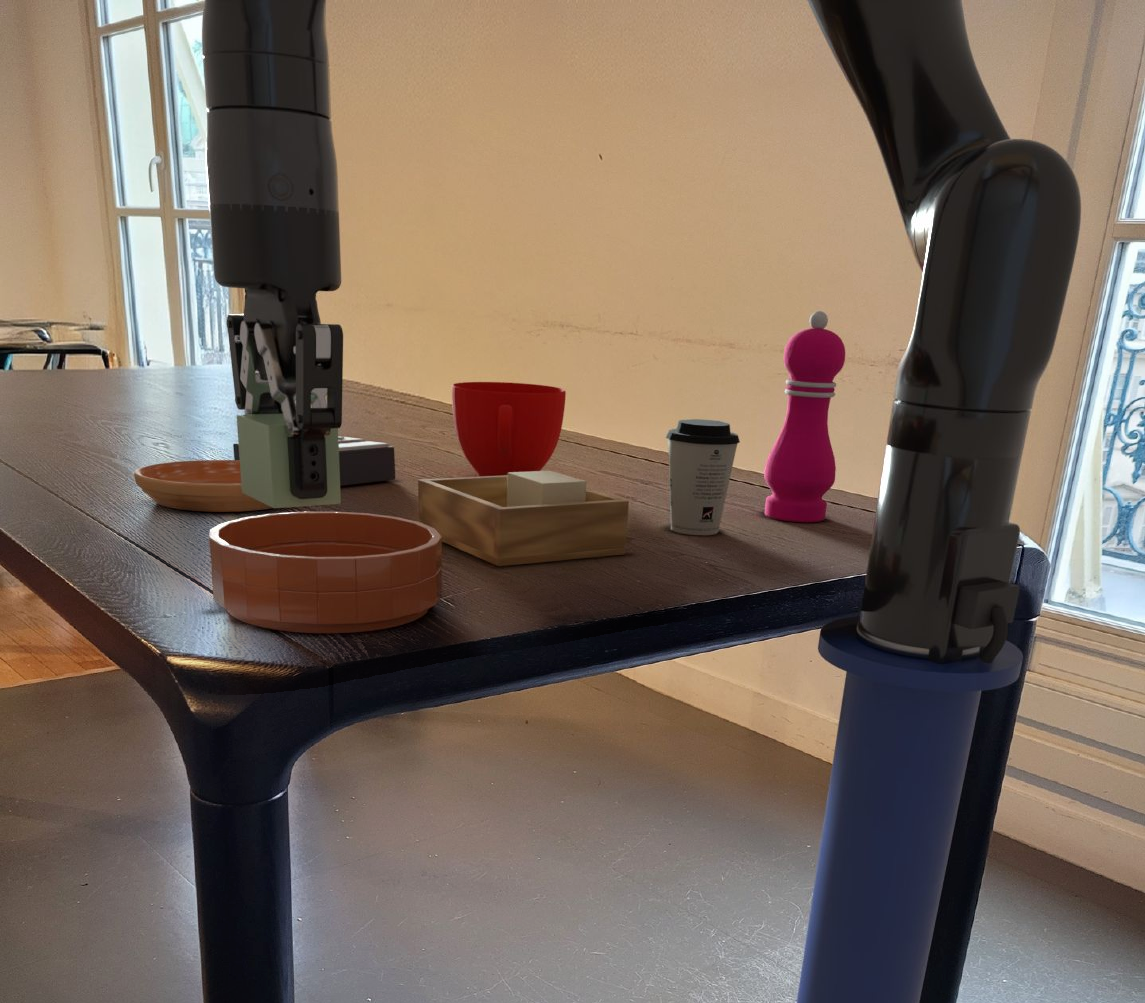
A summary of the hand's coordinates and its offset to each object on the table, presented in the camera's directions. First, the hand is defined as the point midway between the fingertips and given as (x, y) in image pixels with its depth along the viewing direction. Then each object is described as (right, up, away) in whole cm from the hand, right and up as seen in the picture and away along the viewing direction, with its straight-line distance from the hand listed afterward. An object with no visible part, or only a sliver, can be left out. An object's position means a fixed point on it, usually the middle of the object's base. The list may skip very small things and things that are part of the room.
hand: (290, 488), depth 75 cm
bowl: (+2, -7, +5) cm, 9 cm away
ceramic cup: (+11, +15, +58) cm, 60 cm away
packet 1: (0, -1, 0) cm, 1 cm away
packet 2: (+16, +3, +28) cm, 32 cm away
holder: (+14, +2, +27) cm, 30 cm away
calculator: (-10, +14, +53) cm, 56 cm away
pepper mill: (+42, +8, +45) cm, 62 cm away
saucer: (-16, +7, +37) cm, 41 cm away
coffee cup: (+30, +4, +36) cm, 47 cm away
